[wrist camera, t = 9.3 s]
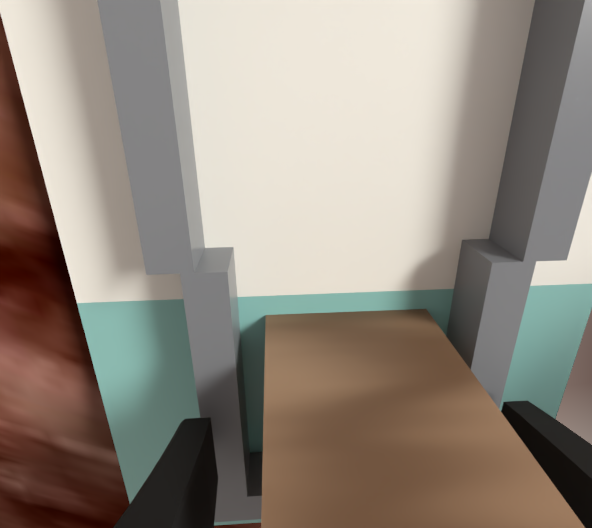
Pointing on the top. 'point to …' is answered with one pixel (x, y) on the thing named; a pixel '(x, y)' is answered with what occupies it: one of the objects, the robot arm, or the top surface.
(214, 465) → the robot arm
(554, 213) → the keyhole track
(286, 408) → the walnut block
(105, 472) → the top surface
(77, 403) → the top surface
